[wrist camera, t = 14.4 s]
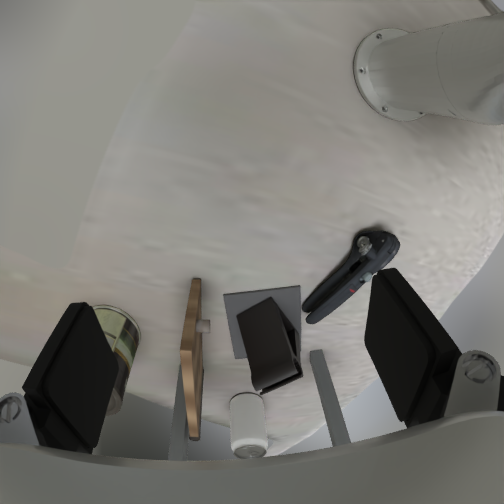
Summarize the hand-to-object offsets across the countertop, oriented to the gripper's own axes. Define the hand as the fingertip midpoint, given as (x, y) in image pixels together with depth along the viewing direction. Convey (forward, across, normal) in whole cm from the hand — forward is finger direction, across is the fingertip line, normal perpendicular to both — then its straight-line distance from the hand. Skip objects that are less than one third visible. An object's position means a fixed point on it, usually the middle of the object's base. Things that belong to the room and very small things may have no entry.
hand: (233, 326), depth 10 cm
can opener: (+31, -14, +18) cm, 38 cm away
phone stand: (+30, -3, +25) cm, 39 cm away
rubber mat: (+30, -2, +26) cm, 40 cm away
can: (+31, +3, +45) cm, 54 cm away
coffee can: (+31, +23, +24) cm, 45 cm away
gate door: (+30, +8, +25) cm, 40 cm away
